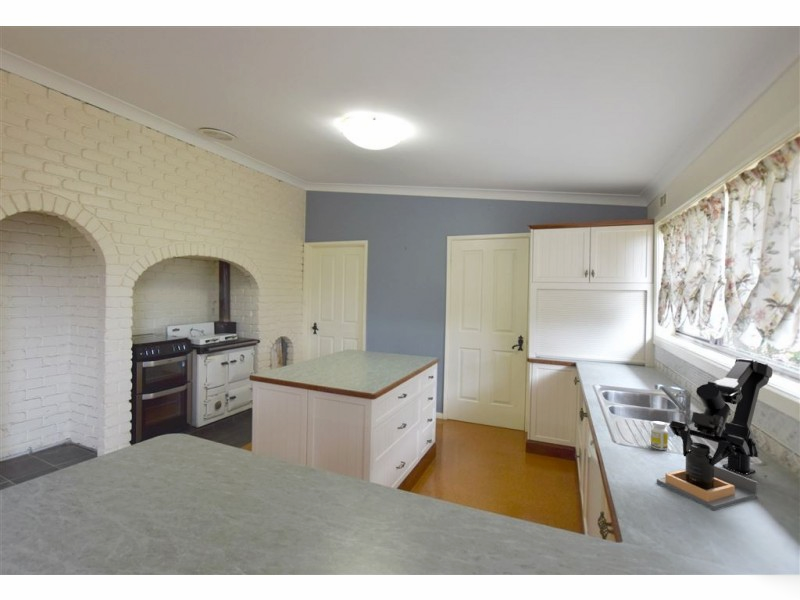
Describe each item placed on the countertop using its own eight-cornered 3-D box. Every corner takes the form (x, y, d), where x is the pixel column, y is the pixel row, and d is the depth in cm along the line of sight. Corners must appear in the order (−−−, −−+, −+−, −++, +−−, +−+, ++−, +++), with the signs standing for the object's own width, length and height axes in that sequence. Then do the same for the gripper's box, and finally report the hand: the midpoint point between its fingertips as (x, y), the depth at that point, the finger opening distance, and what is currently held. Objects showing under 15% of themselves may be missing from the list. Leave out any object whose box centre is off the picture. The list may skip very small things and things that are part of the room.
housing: (698, 472, 126) (698, 459, 126) (757, 497, 111) (757, 481, 111) (656, 482, 119) (657, 468, 119) (713, 510, 104) (713, 493, 104)
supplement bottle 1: (664, 445, 148) (665, 421, 148) (669, 451, 143) (670, 425, 143) (648, 443, 150) (649, 419, 150) (653, 449, 145) (653, 424, 145)
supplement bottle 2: (693, 476, 119) (694, 439, 118) (718, 487, 113) (719, 447, 112) (680, 481, 116) (681, 443, 116) (705, 492, 110) (706, 451, 109)
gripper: (672, 395, 124) (654, 435, 118) (746, 411, 108) (728, 457, 102) (683, 414, 128) (666, 454, 123) (756, 432, 112) (740, 478, 106)
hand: (697, 460), depth 113 cm, fingers closed on supplement bottle 2, 7 cm apart
